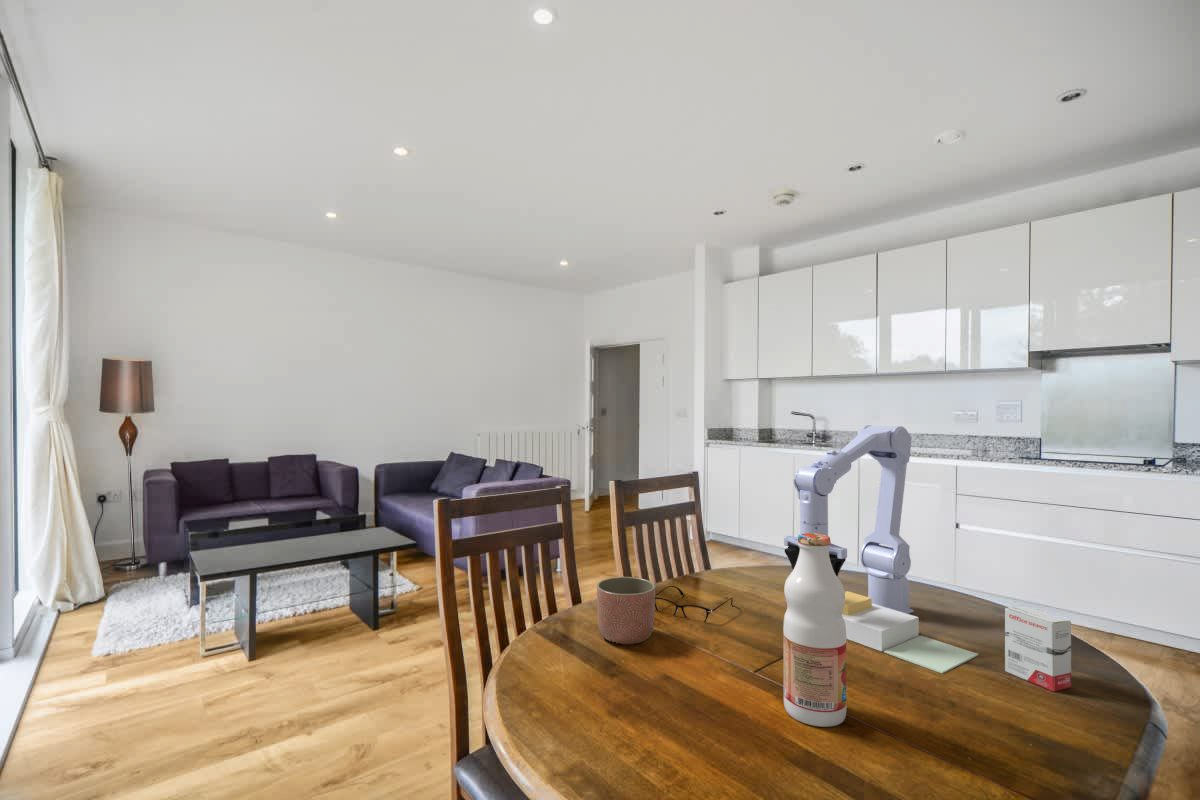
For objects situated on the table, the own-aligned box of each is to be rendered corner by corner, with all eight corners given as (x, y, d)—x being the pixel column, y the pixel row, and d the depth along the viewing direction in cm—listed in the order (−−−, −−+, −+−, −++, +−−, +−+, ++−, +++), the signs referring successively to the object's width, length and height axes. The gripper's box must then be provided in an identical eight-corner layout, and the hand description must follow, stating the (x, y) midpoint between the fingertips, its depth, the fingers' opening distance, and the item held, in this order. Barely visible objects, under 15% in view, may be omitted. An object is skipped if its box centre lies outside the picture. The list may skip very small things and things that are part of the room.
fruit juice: (772, 701, 96) (772, 531, 96) (823, 694, 98) (822, 528, 98) (804, 732, 87) (804, 544, 87) (859, 724, 89) (859, 541, 89)
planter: (587, 643, 119) (587, 590, 119) (609, 622, 130) (609, 574, 131) (645, 653, 114) (645, 597, 114) (662, 630, 126) (662, 580, 126)
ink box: (1072, 687, 100) (1072, 619, 101) (1053, 692, 99) (1053, 623, 99) (1022, 667, 109) (1021, 603, 109) (1003, 671, 107) (1003, 606, 107)
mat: (921, 636, 123) (921, 635, 123) (978, 655, 113) (978, 653, 113) (884, 652, 115) (884, 650, 115) (942, 673, 106) (942, 672, 106)
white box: (827, 606, 141) (827, 589, 141) (918, 636, 123) (918, 617, 123) (789, 617, 134) (789, 600, 134) (881, 651, 115) (881, 631, 115)
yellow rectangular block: (847, 599, 134) (847, 591, 134) (871, 607, 129) (871, 598, 129) (823, 607, 129) (823, 598, 129) (847, 615, 124) (847, 605, 124)
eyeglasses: (647, 612, 138) (647, 595, 138) (678, 595, 151) (678, 579, 151) (712, 627, 129) (712, 609, 129) (738, 607, 142) (738, 591, 142)
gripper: (774, 519, 130) (775, 579, 130) (832, 530, 118) (833, 597, 118) (794, 515, 134) (795, 574, 134) (852, 526, 122) (853, 590, 122)
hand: (814, 584), depth 126 cm, fingers open, 7 cm apart
